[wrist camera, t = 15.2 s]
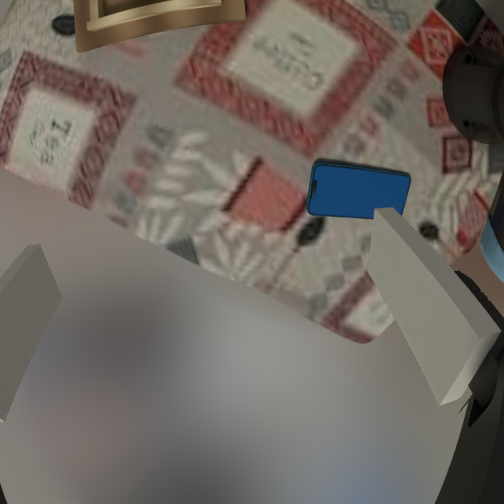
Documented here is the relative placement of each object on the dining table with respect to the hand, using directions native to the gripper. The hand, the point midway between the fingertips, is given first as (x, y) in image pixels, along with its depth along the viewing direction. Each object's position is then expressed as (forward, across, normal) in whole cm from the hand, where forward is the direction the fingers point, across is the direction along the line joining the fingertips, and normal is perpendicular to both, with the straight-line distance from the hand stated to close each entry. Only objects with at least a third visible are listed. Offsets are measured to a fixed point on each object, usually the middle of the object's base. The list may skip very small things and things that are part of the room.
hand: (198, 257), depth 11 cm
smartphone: (+29, +18, -10) cm, 36 cm away
